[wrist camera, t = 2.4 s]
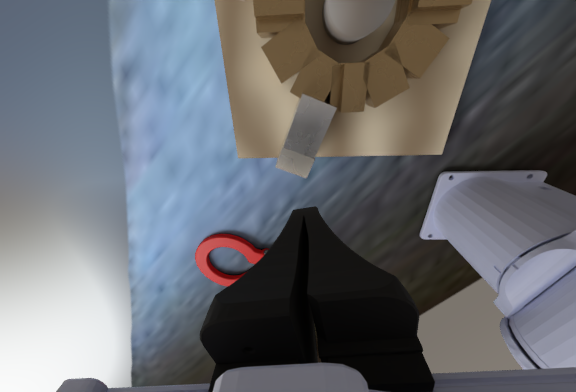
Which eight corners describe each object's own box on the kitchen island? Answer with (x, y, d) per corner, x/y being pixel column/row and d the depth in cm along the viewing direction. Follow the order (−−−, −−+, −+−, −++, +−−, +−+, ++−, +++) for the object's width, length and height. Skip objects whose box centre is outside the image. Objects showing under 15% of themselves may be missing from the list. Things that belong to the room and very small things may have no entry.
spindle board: (557, -263, 10) (729, -490, 6) (434, 150, 20) (469, 168, 16) (182, -220, 11) (116, -390, 7) (238, 154, 21) (223, 172, 17)
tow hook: (196, 270, 29) (261, 288, 30) (125, 388, 18) (232, 413, 19) (202, 223, 26) (276, 244, 26) (115, 334, 14) (250, 368, 15)
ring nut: (479, -145, 11) (550, -232, 8) (405, 160, 19) (426, 176, 16) (249, -124, 12) (231, -198, 9) (271, 163, 20) (265, 178, 16)
